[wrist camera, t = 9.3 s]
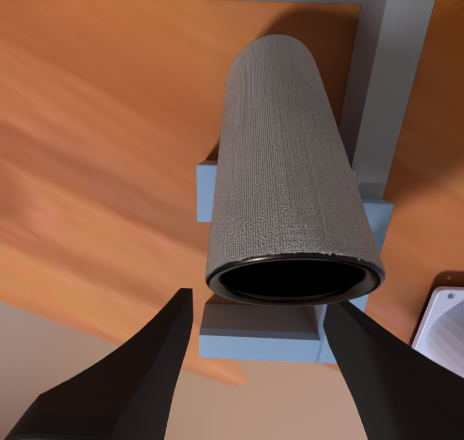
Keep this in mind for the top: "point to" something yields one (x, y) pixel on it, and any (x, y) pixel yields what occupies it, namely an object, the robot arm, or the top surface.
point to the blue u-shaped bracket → (275, 342)
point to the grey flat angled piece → (355, 131)
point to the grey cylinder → (286, 189)
